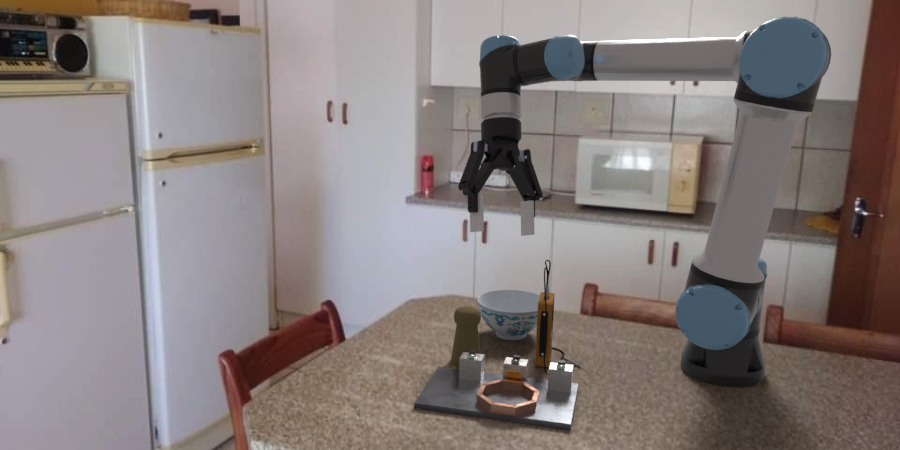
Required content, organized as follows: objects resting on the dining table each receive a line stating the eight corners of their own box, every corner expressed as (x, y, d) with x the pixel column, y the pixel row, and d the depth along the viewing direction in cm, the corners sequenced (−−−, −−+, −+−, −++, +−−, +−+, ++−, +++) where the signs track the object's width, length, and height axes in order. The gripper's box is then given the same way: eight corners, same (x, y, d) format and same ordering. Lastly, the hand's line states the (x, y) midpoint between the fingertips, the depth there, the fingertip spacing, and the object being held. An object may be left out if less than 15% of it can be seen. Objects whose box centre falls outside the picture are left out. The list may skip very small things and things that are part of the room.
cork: (486, 359, 142) (488, 305, 139) (474, 370, 136) (475, 315, 134) (458, 353, 144) (459, 301, 142) (445, 364, 139) (446, 310, 136)
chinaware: (479, 320, 163) (480, 287, 161) (546, 324, 161) (548, 291, 159) (472, 345, 148) (473, 309, 147) (546, 350, 147) (547, 314, 145)
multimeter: (587, 381, 133) (593, 276, 128) (532, 375, 134) (537, 272, 130) (588, 351, 147) (594, 256, 142) (539, 346, 149) (543, 252, 144)
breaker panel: (578, 388, 129) (579, 358, 128) (570, 429, 115) (572, 396, 113) (438, 371, 135) (438, 342, 134) (414, 408, 121) (414, 376, 119)
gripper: (530, 133, 146) (532, 237, 144) (437, 113, 129) (439, 231, 127) (559, 126, 140) (562, 235, 138) (466, 104, 124) (468, 228, 121)
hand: (503, 233), depth 133 cm, fingers open, 13 cm apart
